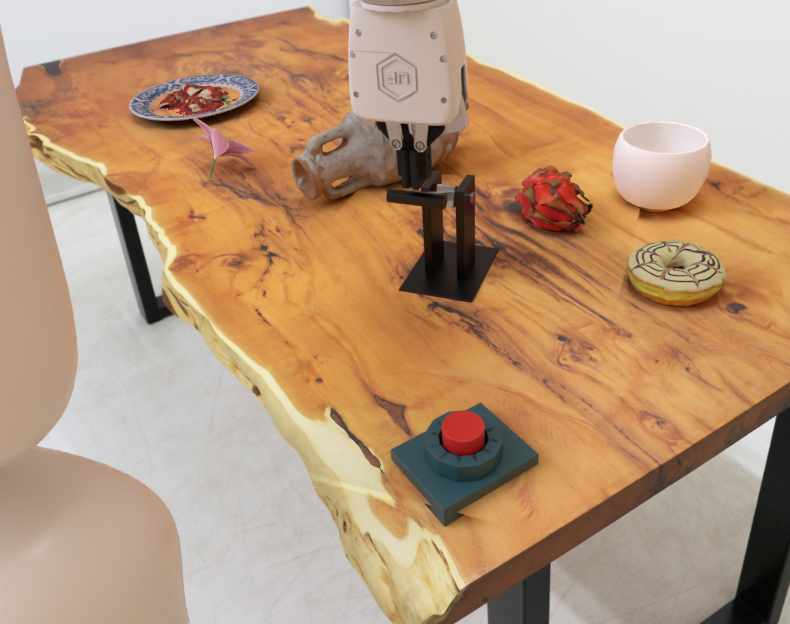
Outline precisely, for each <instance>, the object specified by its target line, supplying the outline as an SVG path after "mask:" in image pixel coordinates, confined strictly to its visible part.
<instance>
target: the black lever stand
mask: <svg viewBox="0 0 790 624" xmlns="http://www.w3.org/2000/svg"><path fill="white" fill-rule="evenodd" d="M442 180H443V179H442V171H438V170H432V174H431V176H430V178H429V179H427V180H426V181H425V183H424V184H423V185H422V187H421V188H420V192H434V191H436V188H437V184H443V181H442ZM476 198H477V197H476V175H475V174H468V173H467V174H466V175H465V176H464V177H463V179H462V180H461V182H460V184H459V187H458V188H457V189H456V191H455V207H454V208H455V241H447V240H444V238H445V236H444V209H438V208H430V207H422V206H421V215H422V217H421V218H422V219H421V220H422V233H423V234H422V238H423V252H422V254H420V256H419V257H418V259H417V260H416V262H415V264H414V265H413V267H412V268H411V270H410V271H409V273H408V274H407V276H406V277H405V279H404V281H403V282H402V284H401V285H400V287H399V288H398V292H405V293H410V294H416V295H421V296H429V297H434V298H440V299H447V300H453V301H458V302H464V303H469V304H470V303H471V304H472V303H473V302H474V300H475V298H476V296H477V294H478V292H479V290H480V288H481V286H482V284H483V283H484V280H485V279H486V276H487V274H488V272H489V271H490V268H491V267H492V265H493V262H494V261H495V259H496V257H497V254H498V253H499V250H500V248H499V247H492V246H485V245H477V244H476Z"/></svg>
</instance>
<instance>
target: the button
mask: <svg viewBox="0 0 790 624" xmlns="http://www.w3.org/2000/svg"><path fill="white" fill-rule="evenodd" d="M457 411H458V412H454V413H451V414H450V415H448V416H447V417H446V418H445V419H444V420H443V422H442V442H443V445H444V447H445V448H446V449H447V450H448V451H449V452H450V453H452V454H455V455H459V456H468V455H473V454H475V453H477V452H478V451H480V450H481V449H482V447H483V446H484V443H485V424H484V422H483V420H482V418H481V417H479V416H478V415H477V414H475V413H472V412H468V411H461V410H457Z"/></svg>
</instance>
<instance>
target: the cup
mask: <svg viewBox="0 0 790 624" xmlns="http://www.w3.org/2000/svg"><path fill="white" fill-rule="evenodd" d="M612 153H613V154H612V163H611V168H612V170H611V171H612V175H613V181H614V186H615V189H616V190H617V192H618V193H619V195H620V196H621V197H622V198H623V199H624V201H626V202H627V203H630V204H631V205H633V206H636V207H639V210H642V211H645V212H649V213H664V212H669V211H670V210H672V209H678V208H680V207H682V206H685V205H686V204H688V203H689V202H690V201H691V200H693V199H694V198H695V197H696V196H697V194H698V193H699V191H700V190H701V188H702V186H703V185H704V183H705V181H706V179H707V178H708V176H709V174H710V173H709V172H710V168H711V163H712V158H713V154H712V145H711V140H710V136H709V135H708V133H706V132H705V131H703V130H702V129H701V128H700V127H696V126H694V125H690V124H688V123H684V122H677V121H671V120H649V121H648V120H647V121H643V122H642V121H641V122H637V123H634V124H631V125H628V126H626V127H625V128H624V129H623V130H622V131H621V132H620V133H619V134H618V137H617V140H616V142H615V144H614V146H613V152H612Z"/></svg>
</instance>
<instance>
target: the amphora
mask: <svg viewBox="0 0 790 624" xmlns="http://www.w3.org/2000/svg"><path fill="white" fill-rule="evenodd" d="M465 107H466V111H467V112H468V110H469V109H470V104H469V102H468V101H467V103H466V105H465ZM415 128H416V124H411V129H412V136H413V138H415ZM337 139H341V140H340V142H339V144H338V145H337V147H335V148H334V149H331V150H328V151H324V148H323V146H325V145H326V144H328V143H331V142H332V141H335V140H337ZM459 139H460V132H454V133H448V134H447V133H445V134H441V135H440V136H439V137H438V138H437V139H436V140H435V141H434V142H433V143H432V144H431V157H432V168H433V167H435V166H438V165H439V164H441V163H442V162H443V161H445V160H446V159H448V157H450V155H451V154H452V153H453V152H454V150H455V149H456V147H457V145H458V141H459ZM304 149H305V150H304V151H303V152H302V153H301V154H299V155H298V156H295V157H294V158H293V159H292V160H291V162H290V167H291V175H292V177H293V179H294V181H295V186H296V187H297V188H298V190H299V191H300V192H301V194H302V195H303V196H304V197H305V198H307V199H308V200H309V201H315V200H317V199H319V198H321V197H322V196H324V197H325V198H326V199H327V200H336V199H340V198H343V197H345V196H348V195H350V194H354V193H356V192H357V191H358V190H359V189H364V188H367V187H377V188H381V187H384V186H388V185H392V184H395V183H398V182H402V176H399V175H398V169H397V155H396V150H395V149H393V148H392V147H391V144H390V140H389V139H388V138H387V137H386V136H385V135H384V134H383V133H382V132H381V131H380V130H379V129H378V128H377V127H375V128H374V127H371V126H368V125H365V124H362V123H360V122H359V121H358V119H357V115H356V114H355V113H354V112H353V110H352V109H350V110H349V111H347V112H346V113H345V115H344V116H343V118H342V121H341V122H340V123H339V124H337V125H335V126H333V127H330V128H328V129H326V130H323V131H322V132H320V133H318V134H315V135H313V136H311V137H310V138H309V139H308V141H307V143H306V145H305V148H304ZM346 178H347V179H346ZM342 179H346V180H344V181H342V182H341V183H340V184H337V186H334V185H333V183H335V182H336V181H339V180H342Z"/></svg>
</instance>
